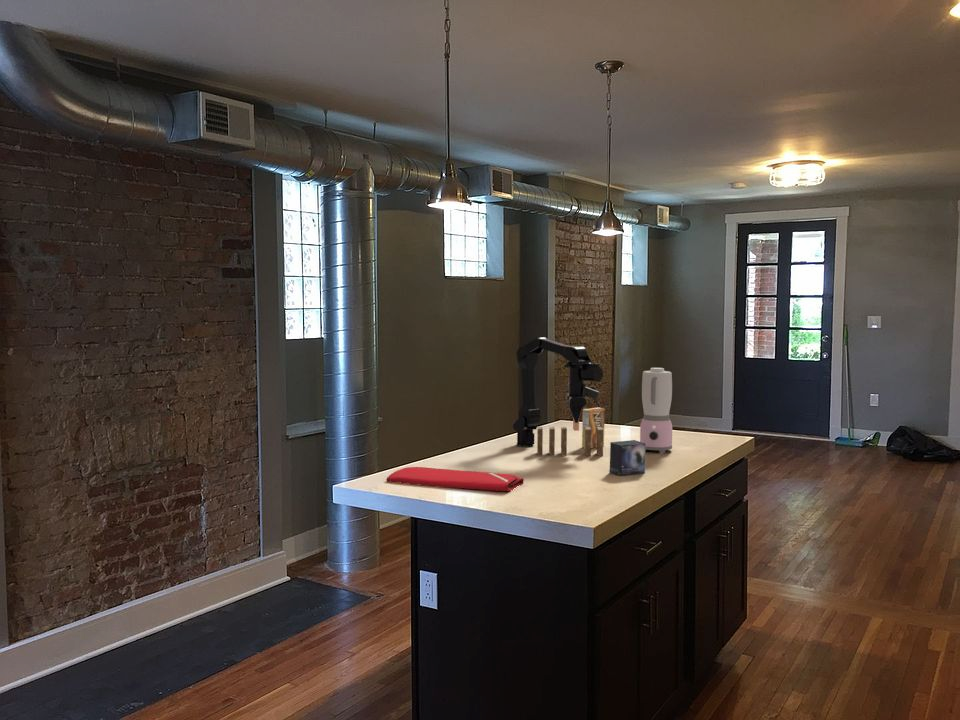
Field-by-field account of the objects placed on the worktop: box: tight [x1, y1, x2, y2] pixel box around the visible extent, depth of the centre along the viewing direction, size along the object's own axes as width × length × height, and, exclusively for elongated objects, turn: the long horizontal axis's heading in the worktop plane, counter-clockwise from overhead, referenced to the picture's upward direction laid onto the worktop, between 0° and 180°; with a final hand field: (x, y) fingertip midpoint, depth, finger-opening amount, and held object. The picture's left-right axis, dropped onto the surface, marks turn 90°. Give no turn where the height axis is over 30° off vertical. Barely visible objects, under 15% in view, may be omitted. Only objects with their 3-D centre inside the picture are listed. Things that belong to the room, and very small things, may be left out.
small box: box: [608, 439, 646, 477], centre depth 264 cm, size 11×6×10 cm, turn 117°
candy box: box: [581, 407, 606, 449], centre depth 312 cm, size 9×4×15 cm, turn 129°
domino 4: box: [572, 417, 580, 432], centre depth 296 cm, size 2×6×10 cm, turn 177°
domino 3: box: [560, 426, 568, 456], centre depth 297 cm, size 2×6×10 cm, turn 177°
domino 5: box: [584, 427, 592, 457], centre depth 297 cm, size 2×6×10 cm, turn 177°
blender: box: [639, 367, 673, 454], centre depth 303 cm, size 16×12×32 cm
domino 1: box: [536, 426, 544, 456], centre depth 298 cm, size 2×6×10 cm, turn 177°
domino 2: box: [548, 426, 556, 456], centre depth 298 cm, size 2×6×10 cm, turn 177°
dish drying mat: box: [386, 466, 524, 492], centre depth 250 cm, size 16×41×4 cm, turn 67°
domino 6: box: [596, 427, 604, 457], centre depth 297 cm, size 2×6×10 cm, turn 177°
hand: (575, 421), depth 297 cm, fingers closed on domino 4, 6 cm apart
